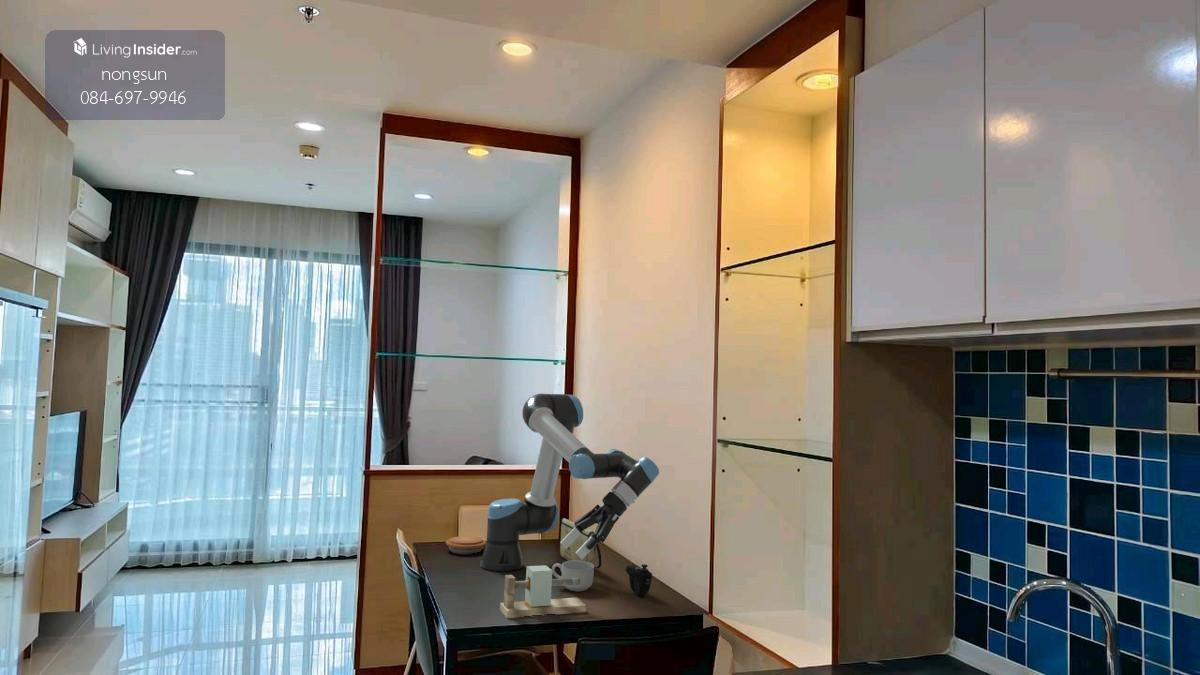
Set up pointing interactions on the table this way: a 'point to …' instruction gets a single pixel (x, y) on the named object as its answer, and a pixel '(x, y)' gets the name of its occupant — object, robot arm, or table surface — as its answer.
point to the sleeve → (538, 586)
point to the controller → (639, 579)
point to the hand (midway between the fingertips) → (570, 551)
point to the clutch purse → (576, 544)
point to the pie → (465, 544)
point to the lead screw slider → (524, 609)
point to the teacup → (576, 573)
